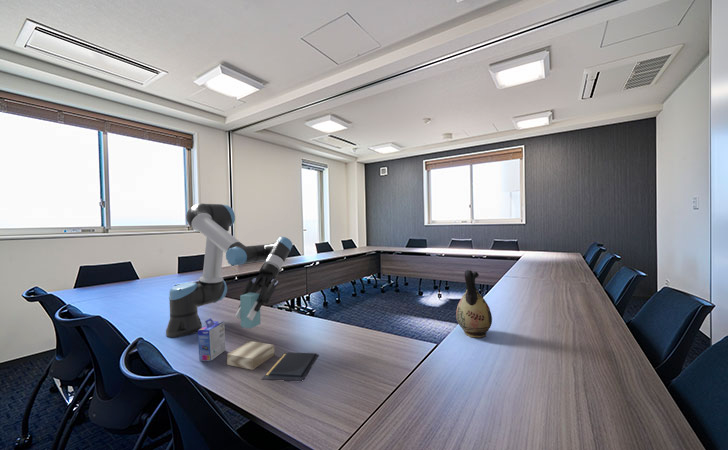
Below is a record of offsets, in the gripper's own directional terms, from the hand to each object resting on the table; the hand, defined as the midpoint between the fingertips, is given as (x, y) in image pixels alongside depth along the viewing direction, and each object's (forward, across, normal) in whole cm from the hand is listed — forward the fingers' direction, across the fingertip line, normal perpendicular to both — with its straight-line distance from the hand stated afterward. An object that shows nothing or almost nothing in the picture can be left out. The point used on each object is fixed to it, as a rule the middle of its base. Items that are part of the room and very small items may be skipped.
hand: (243, 318), depth 105 cm
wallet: (+10, -18, -16) cm, 26 cm away
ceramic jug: (-26, -81, -52) cm, 100 cm away
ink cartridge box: (+11, +18, -14) cm, 25 cm away
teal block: (0, 0, -5) cm, 5 cm away
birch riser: (+10, 0, -15) cm, 18 cm away
